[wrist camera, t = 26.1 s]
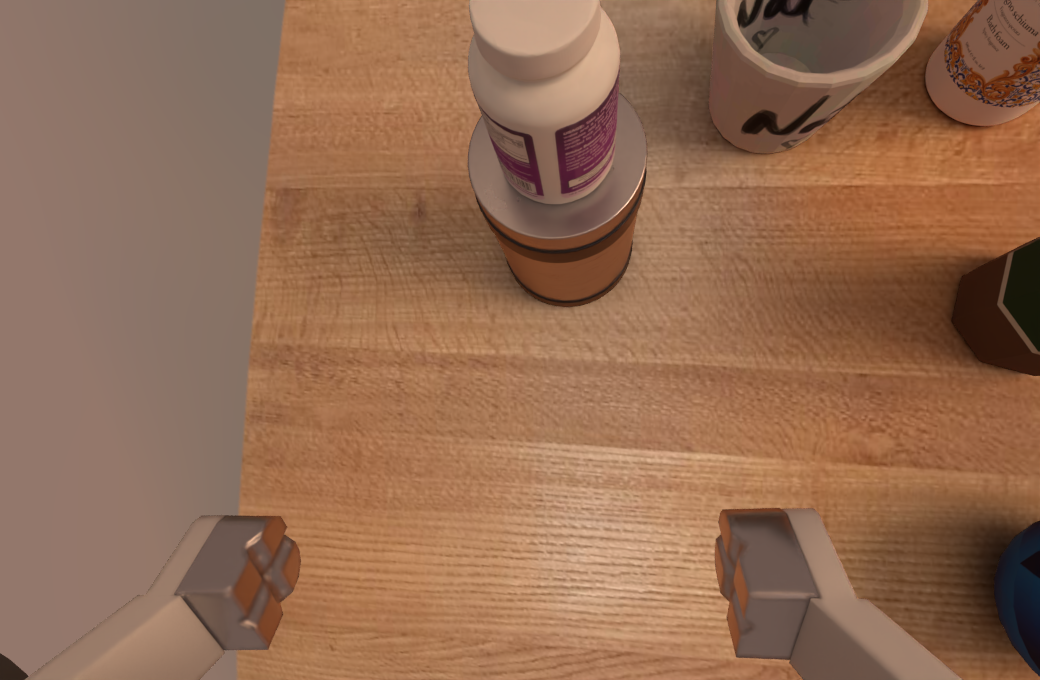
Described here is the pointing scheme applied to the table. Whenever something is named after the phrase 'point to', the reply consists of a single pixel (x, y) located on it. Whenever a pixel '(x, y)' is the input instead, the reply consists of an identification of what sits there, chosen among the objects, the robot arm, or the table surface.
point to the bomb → (1021, 594)
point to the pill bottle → (547, 92)
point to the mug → (800, 63)
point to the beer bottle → (1003, 310)
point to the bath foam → (988, 63)
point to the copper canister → (565, 220)
